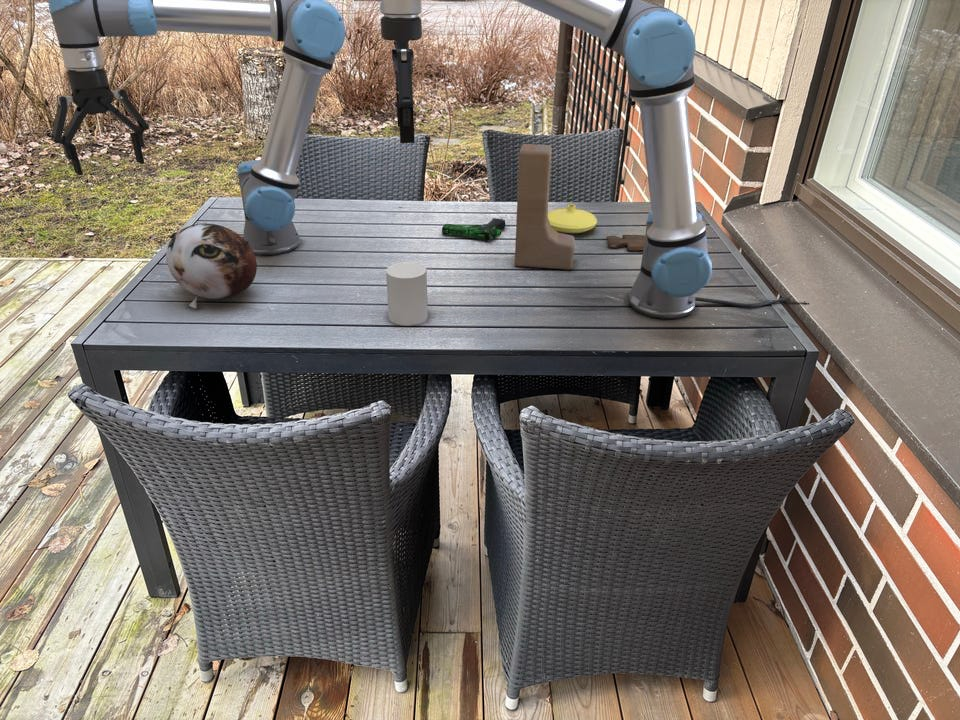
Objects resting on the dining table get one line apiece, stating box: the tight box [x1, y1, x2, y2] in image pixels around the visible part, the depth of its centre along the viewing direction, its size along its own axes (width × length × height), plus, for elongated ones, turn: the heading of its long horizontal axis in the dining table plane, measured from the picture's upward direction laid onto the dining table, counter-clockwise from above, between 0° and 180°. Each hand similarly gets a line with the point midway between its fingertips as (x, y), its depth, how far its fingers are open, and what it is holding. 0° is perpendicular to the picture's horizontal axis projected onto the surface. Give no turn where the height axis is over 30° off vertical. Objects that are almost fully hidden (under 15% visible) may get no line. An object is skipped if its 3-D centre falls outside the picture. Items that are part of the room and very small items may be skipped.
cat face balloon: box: [165, 222, 258, 309], centre depth 165 cm, size 22×18×20 cm
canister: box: [385, 261, 429, 327], centre depth 159 cm, size 9×9×12 cm
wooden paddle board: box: [605, 234, 645, 251], centre depth 200 cm, size 26×2×10 cm
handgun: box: [441, 217, 506, 242], centre depth 207 cm, size 16×3×15 cm
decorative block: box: [514, 143, 576, 271], centre depth 181 cm, size 8×15×30 cm, turn 82°
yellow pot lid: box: [547, 203, 598, 234], centre depth 209 cm, size 16×16×7 cm
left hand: (110, 168), depth 162 cm, fingers open, 13 cm apart
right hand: (405, 134), depth 142 cm, fingers open, 13 cm apart
